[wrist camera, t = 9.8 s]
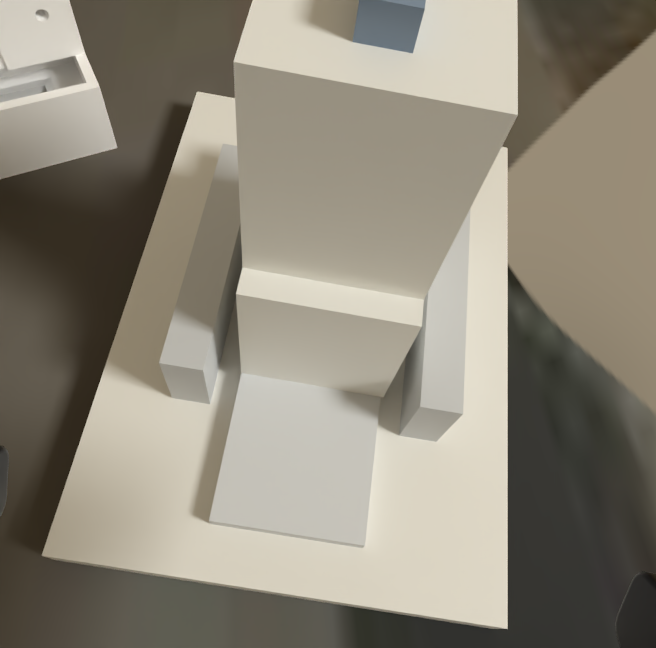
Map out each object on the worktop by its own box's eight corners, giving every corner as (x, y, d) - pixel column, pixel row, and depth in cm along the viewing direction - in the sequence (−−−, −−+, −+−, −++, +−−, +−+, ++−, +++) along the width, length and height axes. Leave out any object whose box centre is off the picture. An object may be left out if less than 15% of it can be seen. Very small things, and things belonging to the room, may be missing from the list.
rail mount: (492, 628, 18) (551, 629, 14) (54, 560, 17) (3, 542, 14) (497, 167, 26) (534, 94, 23) (199, 113, 26) (190, 31, 22)
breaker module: (383, 397, 19) (539, 110, 8) (241, 372, 19) (220, 50, 8) (397, 264, 21) (534, -93, 11) (270, 241, 21) (283, -142, 11)
